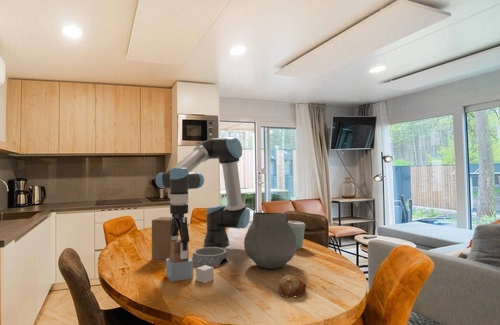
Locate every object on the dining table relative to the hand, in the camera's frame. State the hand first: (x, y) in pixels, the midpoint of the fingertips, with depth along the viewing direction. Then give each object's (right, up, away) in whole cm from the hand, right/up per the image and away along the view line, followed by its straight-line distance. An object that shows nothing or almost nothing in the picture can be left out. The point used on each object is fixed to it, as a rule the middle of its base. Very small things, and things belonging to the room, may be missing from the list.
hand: (179, 254), depth 131 cm
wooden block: (-14, -10, +30) cm, 34 cm away
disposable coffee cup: (+56, -10, +47) cm, 74 cm away
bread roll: (+45, -9, -18) cm, 49 cm away
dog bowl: (+10, -10, +22) cm, 26 cm away
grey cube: (+11, -9, -4) cm, 15 cm away
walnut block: (0, -2, 0) cm, 2 cm away
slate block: (0, -9, 0) cm, 9 cm away
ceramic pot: (+39, -10, +13) cm, 43 cm away
